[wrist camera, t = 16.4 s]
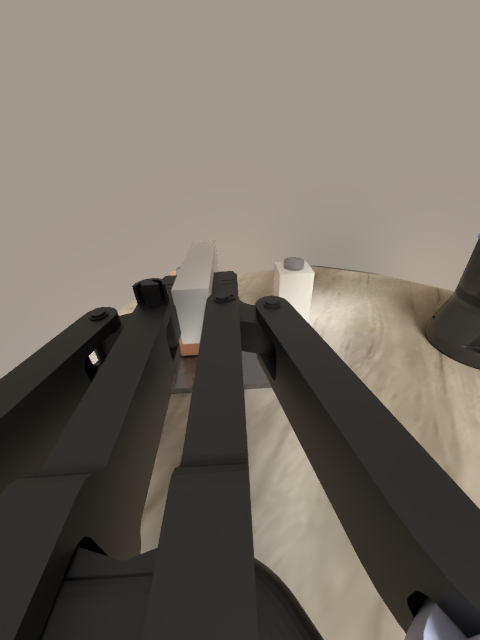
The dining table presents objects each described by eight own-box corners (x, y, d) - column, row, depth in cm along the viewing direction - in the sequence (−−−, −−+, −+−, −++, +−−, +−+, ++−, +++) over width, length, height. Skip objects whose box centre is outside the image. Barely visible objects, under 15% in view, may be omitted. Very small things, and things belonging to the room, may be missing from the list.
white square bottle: (298, 327, 49) (306, 254, 41) (305, 344, 44) (315, 265, 37) (272, 329, 48) (274, 256, 41) (276, 345, 44) (280, 267, 37)
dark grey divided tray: (309, 329, 50) (311, 316, 48) (335, 383, 38) (339, 368, 37) (174, 337, 50) (172, 324, 48) (158, 394, 38) (154, 379, 36)
